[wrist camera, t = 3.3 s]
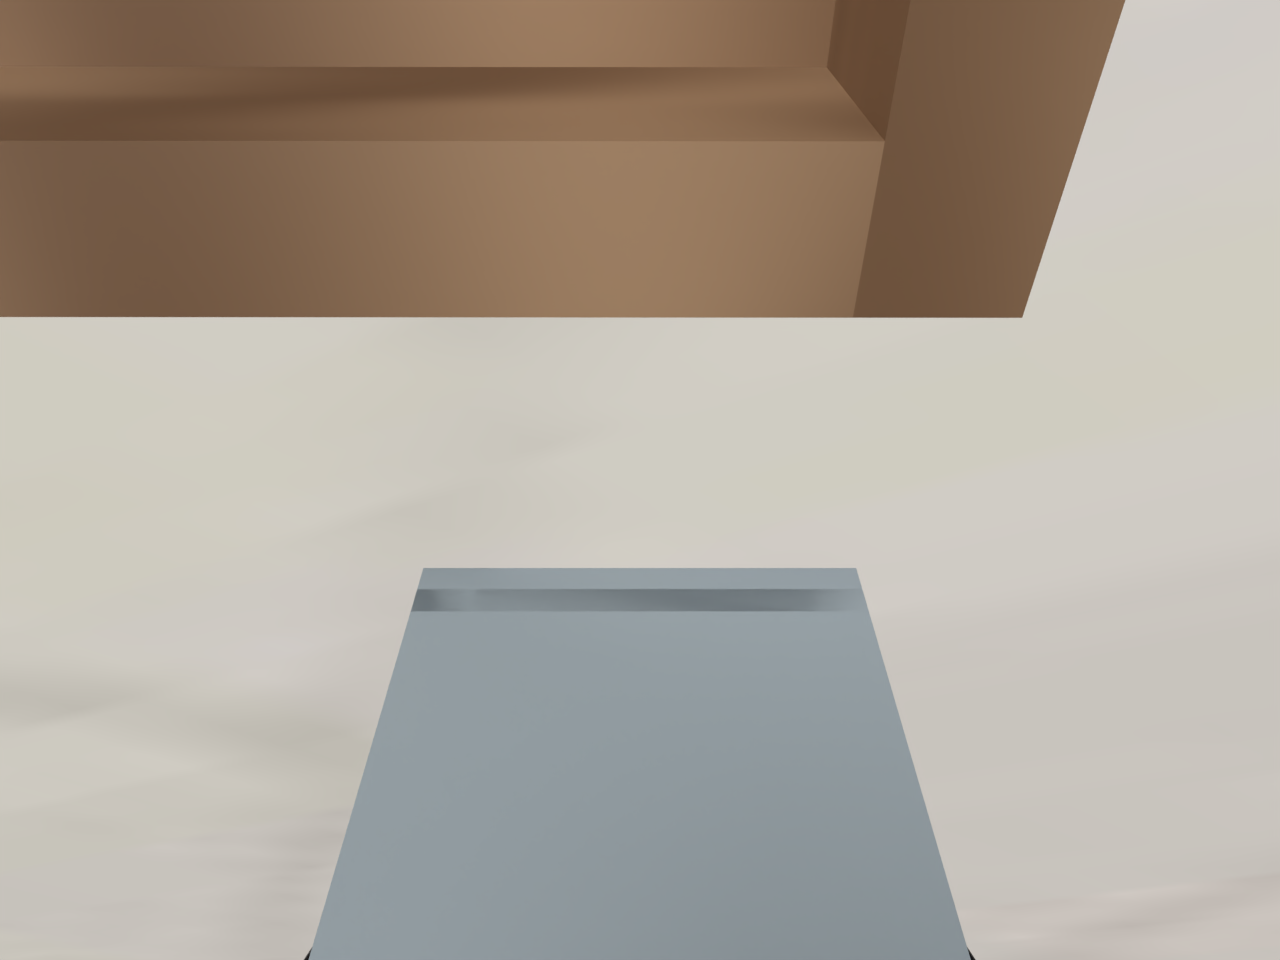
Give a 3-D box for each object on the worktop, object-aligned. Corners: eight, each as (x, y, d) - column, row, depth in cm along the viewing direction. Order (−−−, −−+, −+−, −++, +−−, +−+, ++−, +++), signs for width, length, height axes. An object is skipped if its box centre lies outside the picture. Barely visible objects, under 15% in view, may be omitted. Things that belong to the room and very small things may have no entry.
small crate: (856, 567, 11) (1010, 1093, 7) (789, 853, 16) (849, 1267, 12) (423, 568, 11) (269, 1093, 7) (490, 852, 16) (429, 1266, 12)
